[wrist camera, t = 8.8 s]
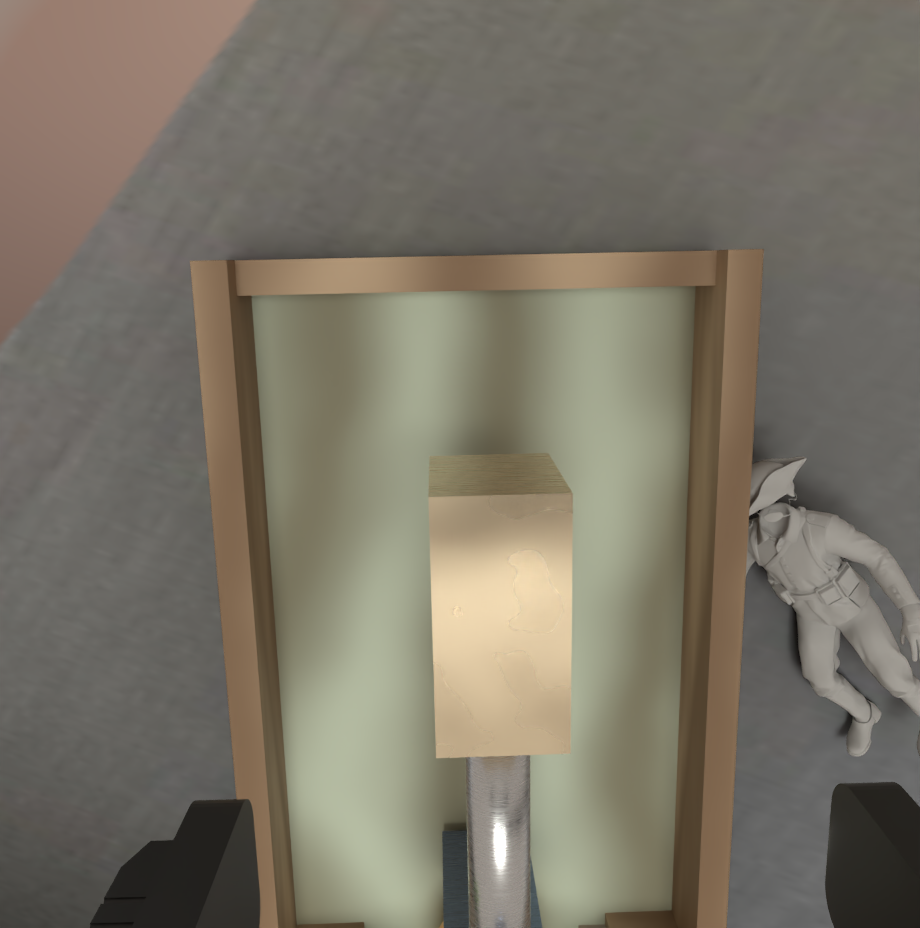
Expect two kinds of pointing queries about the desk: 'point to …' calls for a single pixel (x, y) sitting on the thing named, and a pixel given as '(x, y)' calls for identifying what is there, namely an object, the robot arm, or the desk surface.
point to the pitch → (409, 574)
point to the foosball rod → (498, 665)
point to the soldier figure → (833, 596)
